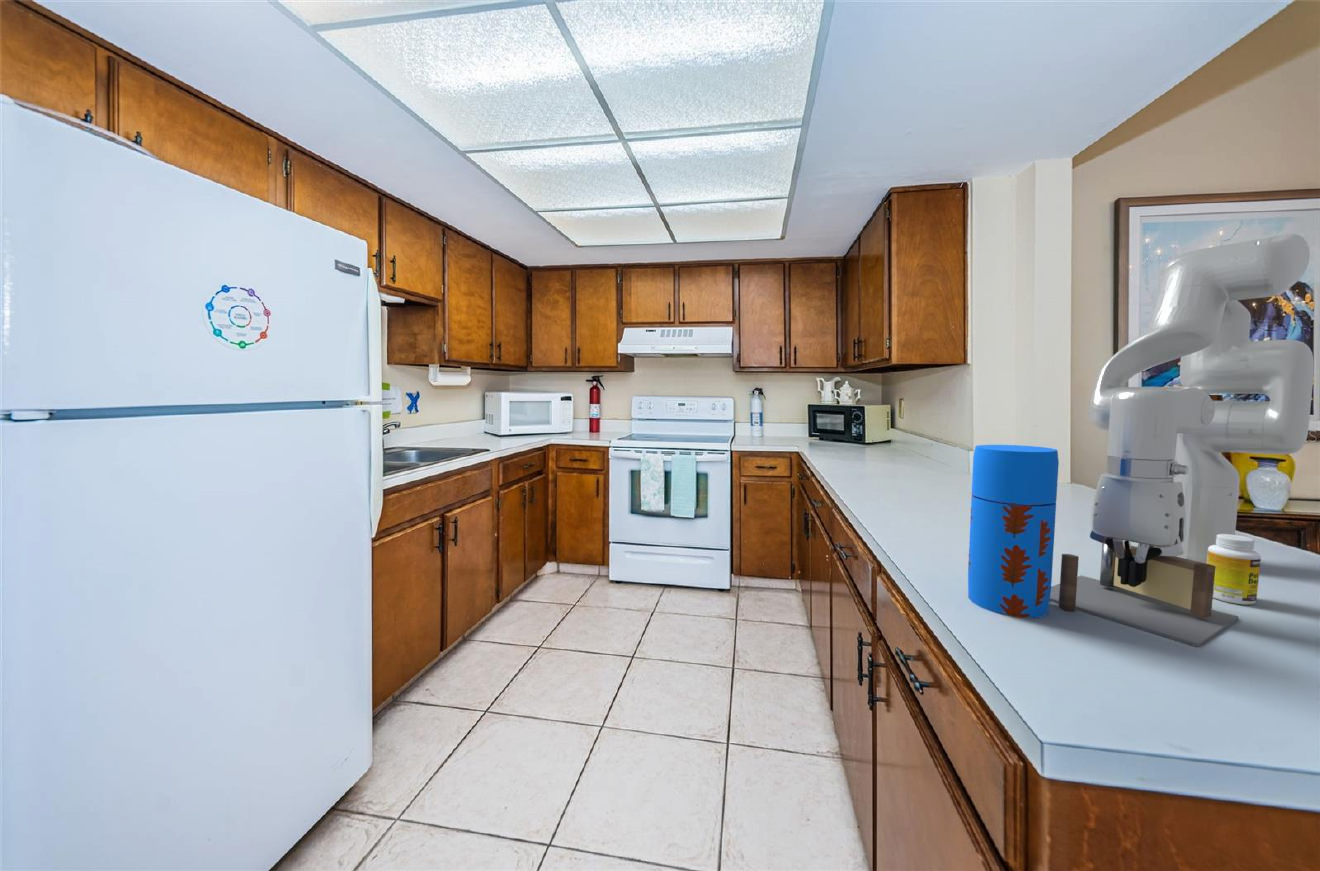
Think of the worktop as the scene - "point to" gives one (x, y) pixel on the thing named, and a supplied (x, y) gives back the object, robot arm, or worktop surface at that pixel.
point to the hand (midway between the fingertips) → (1131, 583)
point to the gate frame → (1134, 607)
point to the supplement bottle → (1235, 569)
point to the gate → (1167, 580)
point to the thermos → (1012, 529)
